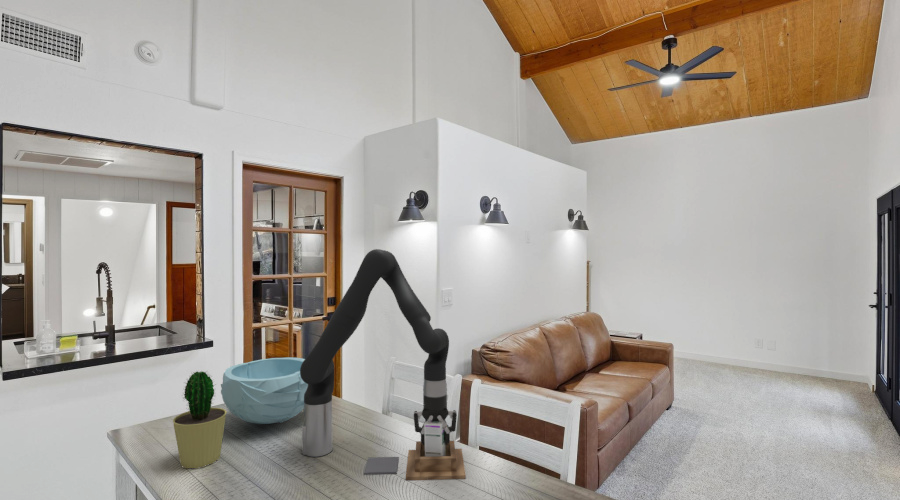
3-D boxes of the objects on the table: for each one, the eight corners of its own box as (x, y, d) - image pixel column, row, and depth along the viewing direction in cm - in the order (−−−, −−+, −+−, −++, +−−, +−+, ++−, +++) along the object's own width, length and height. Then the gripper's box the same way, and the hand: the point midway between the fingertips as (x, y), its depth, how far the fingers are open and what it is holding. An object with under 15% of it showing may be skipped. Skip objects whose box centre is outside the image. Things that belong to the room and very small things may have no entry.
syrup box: (442, 470, 142) (442, 424, 142) (424, 468, 143) (423, 422, 143) (446, 461, 148) (446, 417, 147) (428, 460, 149) (428, 415, 149)
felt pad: (363, 474, 140) (363, 472, 140) (368, 459, 150) (368, 457, 150) (396, 473, 140) (396, 471, 140) (398, 458, 150) (398, 456, 150)
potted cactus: (237, 453, 154) (236, 365, 154) (199, 475, 140) (197, 378, 139) (202, 447, 159) (201, 361, 159) (161, 467, 145) (160, 373, 144)
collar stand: (405, 480, 136) (405, 463, 136) (408, 452, 154) (408, 438, 154) (465, 478, 137) (465, 462, 137) (461, 451, 155) (461, 437, 155)
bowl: (259, 450, 157) (259, 386, 156) (203, 428, 175) (202, 372, 175) (335, 417, 186) (335, 364, 186) (280, 402, 205) (279, 353, 205)
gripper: (412, 396, 141) (412, 450, 141) (458, 395, 142) (458, 449, 142) (413, 389, 149) (413, 439, 149) (456, 388, 149) (457, 438, 149)
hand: (435, 444), depth 145 cm, fingers closed on syrup box, 6 cm apart
